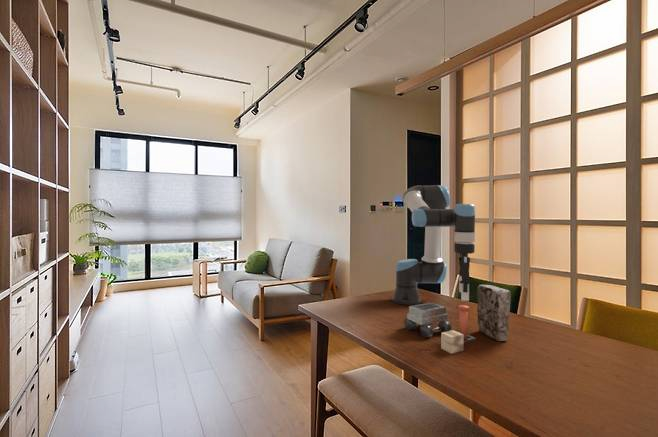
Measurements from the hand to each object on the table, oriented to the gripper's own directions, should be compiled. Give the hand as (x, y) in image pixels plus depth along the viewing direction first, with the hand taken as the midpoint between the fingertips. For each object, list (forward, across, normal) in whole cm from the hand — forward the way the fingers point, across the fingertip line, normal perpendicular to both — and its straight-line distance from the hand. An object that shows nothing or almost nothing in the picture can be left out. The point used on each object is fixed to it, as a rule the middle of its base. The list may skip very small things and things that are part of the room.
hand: (463, 296), depth 135 cm
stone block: (+17, -7, +11) cm, 22 cm away
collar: (+17, 0, 0) cm, 17 cm away
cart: (+17, -4, -14) cm, 23 cm away
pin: (+17, 0, 0) cm, 17 cm away
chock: (+17, +12, -5) cm, 22 cm away
